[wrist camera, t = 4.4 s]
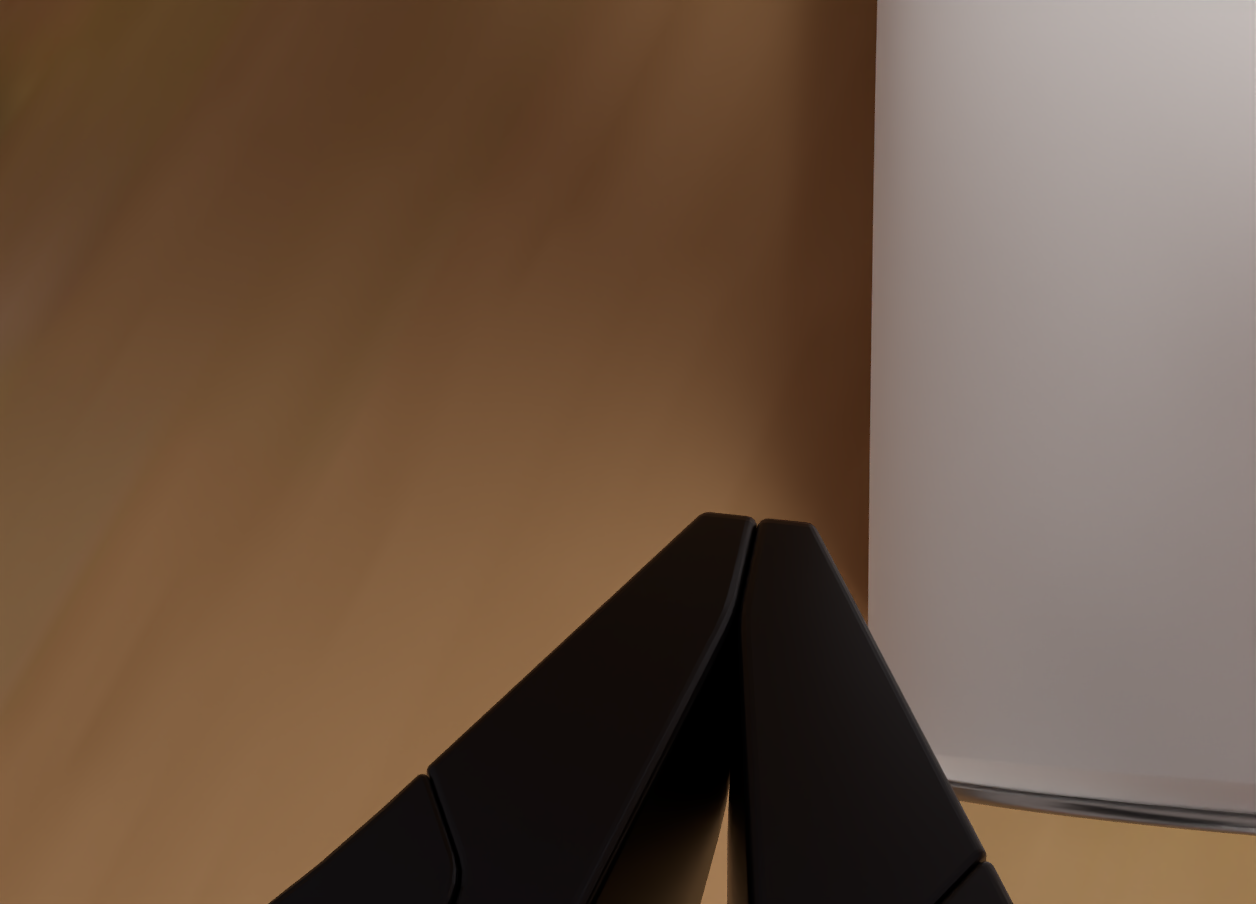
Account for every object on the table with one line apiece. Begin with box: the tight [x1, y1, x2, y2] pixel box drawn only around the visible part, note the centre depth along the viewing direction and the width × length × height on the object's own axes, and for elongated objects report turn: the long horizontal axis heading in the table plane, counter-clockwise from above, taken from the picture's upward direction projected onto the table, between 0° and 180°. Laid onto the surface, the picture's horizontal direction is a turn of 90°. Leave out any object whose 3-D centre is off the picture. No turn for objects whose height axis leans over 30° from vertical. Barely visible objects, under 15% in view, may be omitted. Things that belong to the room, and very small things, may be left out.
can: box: [868, 0, 1256, 836], centre depth 13 cm, size 6×6×12 cm
